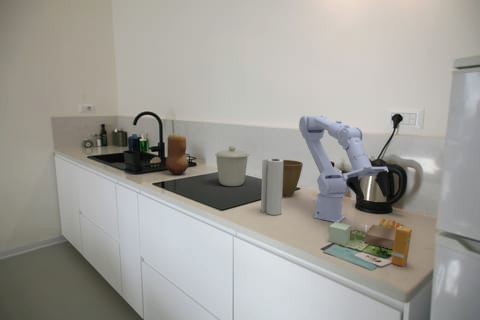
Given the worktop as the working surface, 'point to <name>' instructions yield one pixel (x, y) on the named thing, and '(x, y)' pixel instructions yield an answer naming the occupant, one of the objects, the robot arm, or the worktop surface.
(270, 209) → the paper towel roll
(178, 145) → the butternut squash
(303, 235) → the worktop surface
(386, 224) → the pastry
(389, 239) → the walnut base block
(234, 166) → the canister
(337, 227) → the sage green block
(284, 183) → the plant pot
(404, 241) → the supplement box
